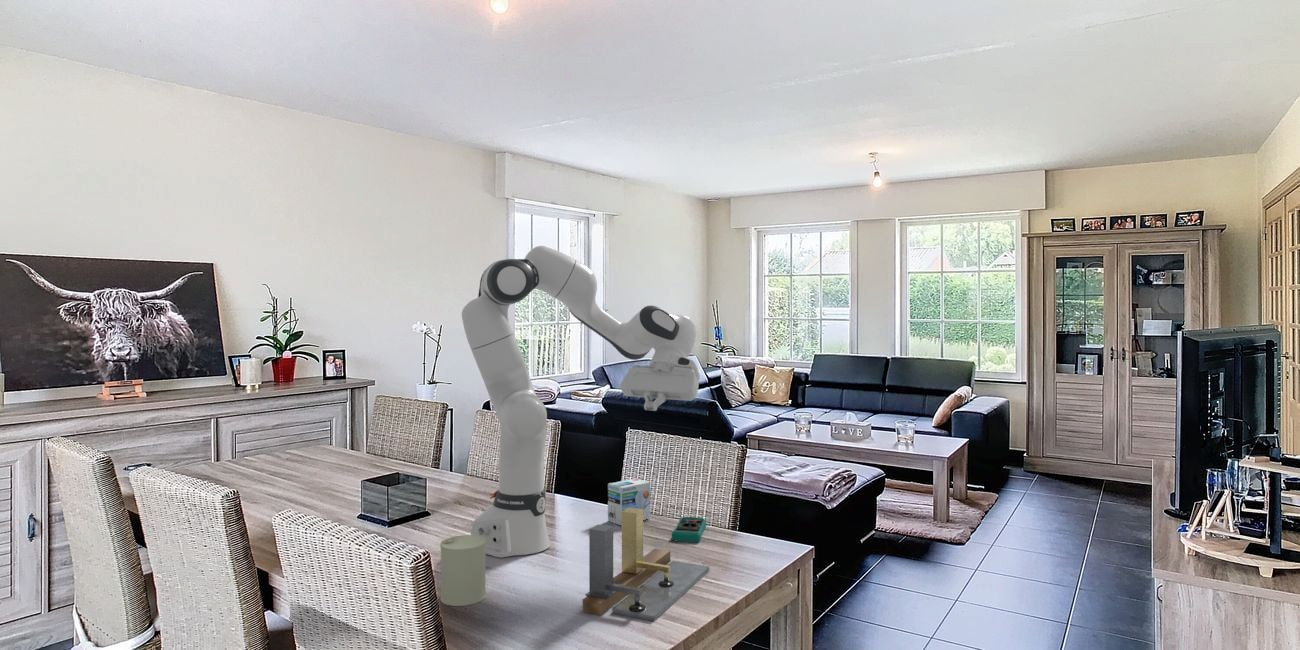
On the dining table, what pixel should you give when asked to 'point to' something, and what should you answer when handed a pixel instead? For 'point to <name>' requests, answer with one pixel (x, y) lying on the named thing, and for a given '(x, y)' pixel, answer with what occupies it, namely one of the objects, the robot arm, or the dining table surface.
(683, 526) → the digital multimeter
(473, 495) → the dining table surface
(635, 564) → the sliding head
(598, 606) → the rail
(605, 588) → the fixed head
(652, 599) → the hole plate
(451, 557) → the can
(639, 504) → the light bulb box
